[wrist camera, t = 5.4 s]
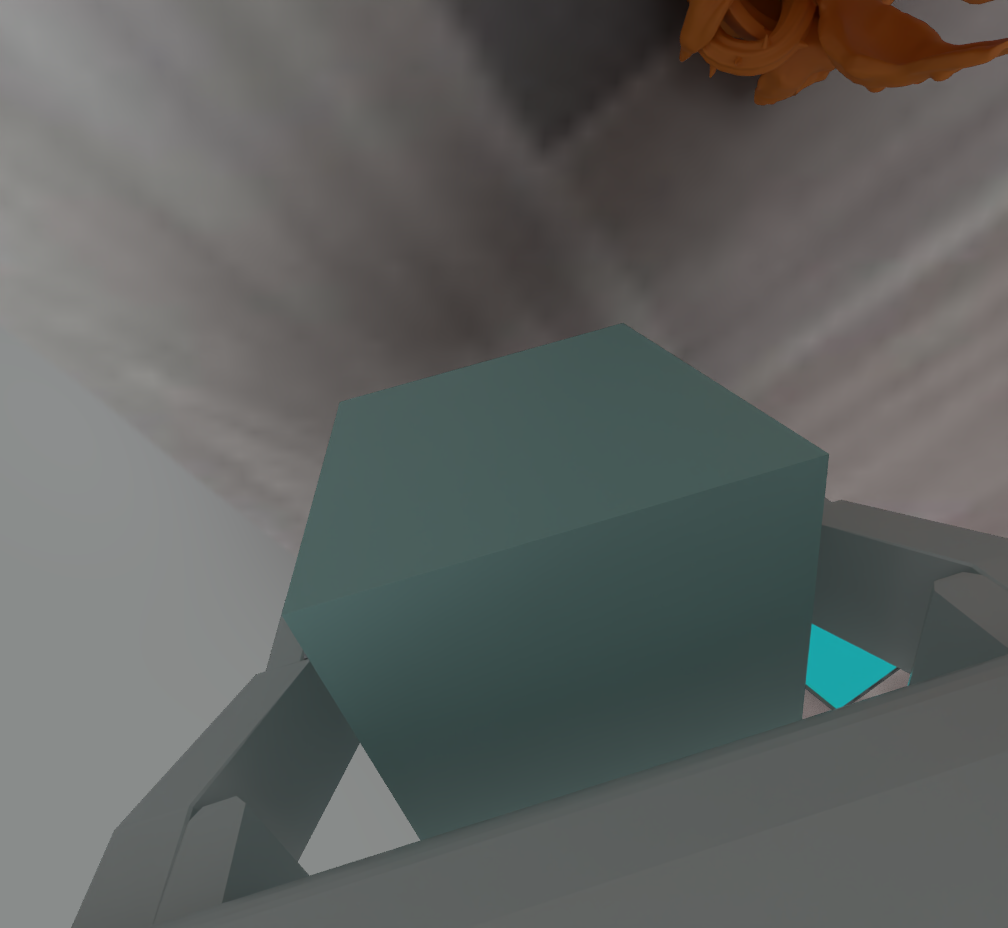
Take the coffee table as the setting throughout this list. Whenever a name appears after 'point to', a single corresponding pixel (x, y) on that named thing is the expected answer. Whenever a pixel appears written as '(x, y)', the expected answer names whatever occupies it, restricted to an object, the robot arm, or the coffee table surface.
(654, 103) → the coffee table surface
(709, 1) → the orange figurine
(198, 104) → the coffee table surface
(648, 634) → the brick teal
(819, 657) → the smartphone
